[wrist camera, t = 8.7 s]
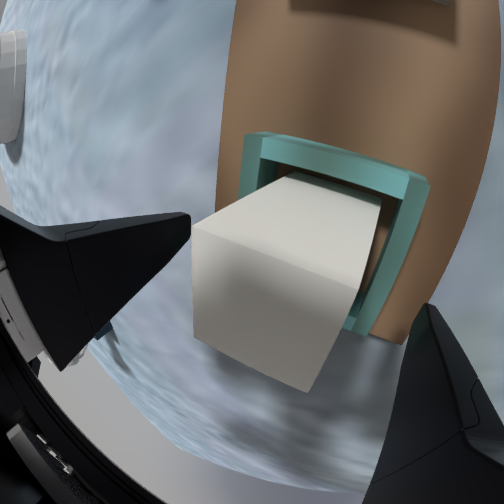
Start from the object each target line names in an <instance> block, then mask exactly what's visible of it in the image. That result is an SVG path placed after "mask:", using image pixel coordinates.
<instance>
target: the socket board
mask: <svg viewBox="0 0 504 504" xmlns="http://www.w3.org/2000/svg"><path fill="white" fill-rule="evenodd" d="M500 65H501V28H500V13H499V3H498V0H237V1H236V7H235V14H234V21H233V28H232V35H231V43H230V50H229V58H228V67H227V75H226V84H225V93H224V103H223V113H222V123H221V135H220V146H219V158H218V172H217V186H216V201H215V213H216V212H218V211H220V210H221V209H223V208H225V207H227V206H229V205H231V204H232V203H234V202H236V201H238V200H240V199H242V198H244V197H245V196H247V195H249V194H251V193H253V192H255V191H257V190H259V189H261V188H263V187H265V186H267V185H268V184H270V183H272V182H274V181H276V180H278V179H280V178H282V177H284V176H286V175H288V174H290V173H292V172H294V171H296V172H300V173H303V174H307V175H311V176H314V177H317V178H321V179H324V180H328V181H331V182H334V183H337V184H341V185H344V186H347V187H350V188H353V189H356V190H359V191H362V192H365V193H368V194H371V195H374V196H377V197H380V198H382V202H381V207H380V211H379V216H378V220H377V224H376V229H375V233H374V237H373V241H372V244H371V248H370V252H369V256H368V259H367V263H366V266H365V270H364V273H363V277H362V280H361V283H360V287H359V290H358V292H357V295H356V297H355V299H354V302H353V304H352V306H351V308H350V311H349V313H348V315H347V317H346V320H345V322H344V324H343V326H342V328H344V329H347V330H349V331H352V332H354V333H357V334H360V335H362V336H365V337H367V335H368V333H370V334H373V335H376V336H378V337H381V338H384V339H386V340H389V341H392V342H394V343H397V344H400V345H402V344H403V343H404V341H405V340H406V338H407V336H408V335H409V333H410V329H411V325H412V323H413V321H414V319H415V317H416V316H417V314H418V312H419V310H420V309H421V307H422V305H423V304H424V303H428V302H429V300H430V298H431V296H432V295H433V293H434V291H435V289H436V287H437V285H438V283H439V281H440V279H441V277H442V275H443V273H444V271H445V269H446V267H447V265H448V263H449V261H450V259H451V257H452V254H453V252H454V250H455V248H456V245H457V243H458V241H459V238H460V236H461V234H462V231H463V229H464V226H465V224H466V221H467V218H468V216H469V213H470V210H471V207H472V205H473V202H474V199H475V196H476V193H477V190H478V186H479V183H480V180H481V176H482V173H483V169H484V166H485V162H486V158H487V154H488V150H489V145H490V141H491V136H492V131H493V126H494V120H495V114H496V107H497V100H498V91H499V81H500Z"/></svg>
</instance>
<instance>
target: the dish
mask: <svg viewBox="0 0 504 504" xmlns="http://www.w3.org/2000/svg"><path fill="white" fill-rule="evenodd" d="M26 65H27V44H26V36H25V32H24V31H23V30H22V29H19V30H12V31H10V32H6V33H0V144H2V143H3V144H6V143H8V142H11V141H14V140H15V139H16V137H17V135H18V131H19V128H20V123H21V117H22V110H23V102H24V92H25V81H26Z"/></svg>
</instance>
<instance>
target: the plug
mask: <svg viewBox="0 0 504 504" xmlns="http://www.w3.org/2000/svg"><path fill="white" fill-rule="evenodd" d="M381 202H382V198H380V197H377V196H374V195H371V194H368V193H365V192H362V191H359V190H356V189H353V188H350V187H347V186H344V185H341V184H337V183H334V182H331V181H328V180H324V179H321V178H317V177H314V176H311V175H307V174H303V173H300V172H296V171H294V172H292V173H290V174H288V175H286V176H284V177H282V178H280V179H278V180H276V181H274V182H272V183H270V184H268V185H267V186H265V187H263V188H261V189H259V190H257V191H255V192H253V193H251V194H249V195H247V196H245V197H244V198H242V199H240V200H238V201H236V202H234V203H232V204H231V205H229V206H227V207H225V208H223V209H221V210H220V211H218V212H216V213H214V214H212V215H210V216H209V217H207V218H205V219H203V220H202V221H200V222H198V223H196V224H194V225H193V226H192V301H193V329H194V337H195V338H196V339H198V340H200V341H202V342H204V343H205V344H207V345H209V346H211V347H213V348H214V349H216V350H218V351H220V352H222V353H224V354H226V355H227V356H229V357H231V358H233V359H235V360H237V361H239V362H241V363H243V364H245V365H247V366H249V367H251V368H253V369H255V370H257V371H259V372H261V373H263V374H265V375H267V376H270V377H272V378H274V379H276V380H278V381H280V382H282V383H285V384H287V385H289V386H291V387H294V388H296V389H298V390H301V391H303V392H305V393H308V392H309V390H310V389H311V387H312V385H313V383H314V381H315V380H316V378H317V376H318V374H319V372H320V370H321V368H322V367H323V365H324V363H325V361H326V359H327V357H328V355H329V353H330V351H331V349H332V347H333V345H334V343H335V341H336V339H337V337H338V335H339V332H340V330H341V328H342V326H343V324H344V322H345V320H346V317H347V315H348V313H349V311H350V308H351V306H352V304H353V302H354V299H355V297H356V295H357V292H358V290H359V287H360V283H361V280H362V277H363V273H364V270H365V266H366V263H367V259H368V256H369V252H370V248H371V244H372V241H373V237H374V233H375V229H376V224H377V220H378V216H379V211H380V207H381Z"/></svg>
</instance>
